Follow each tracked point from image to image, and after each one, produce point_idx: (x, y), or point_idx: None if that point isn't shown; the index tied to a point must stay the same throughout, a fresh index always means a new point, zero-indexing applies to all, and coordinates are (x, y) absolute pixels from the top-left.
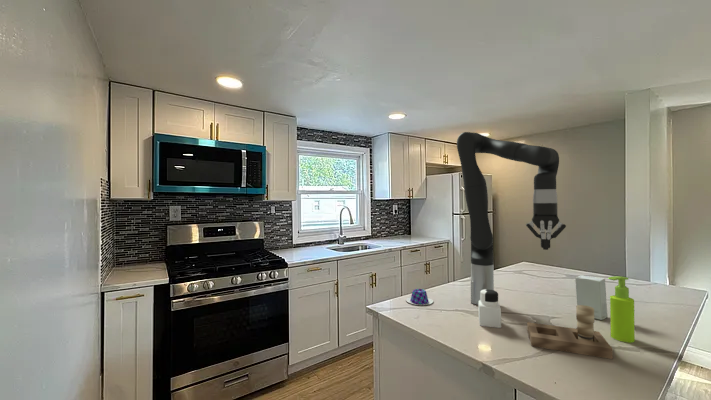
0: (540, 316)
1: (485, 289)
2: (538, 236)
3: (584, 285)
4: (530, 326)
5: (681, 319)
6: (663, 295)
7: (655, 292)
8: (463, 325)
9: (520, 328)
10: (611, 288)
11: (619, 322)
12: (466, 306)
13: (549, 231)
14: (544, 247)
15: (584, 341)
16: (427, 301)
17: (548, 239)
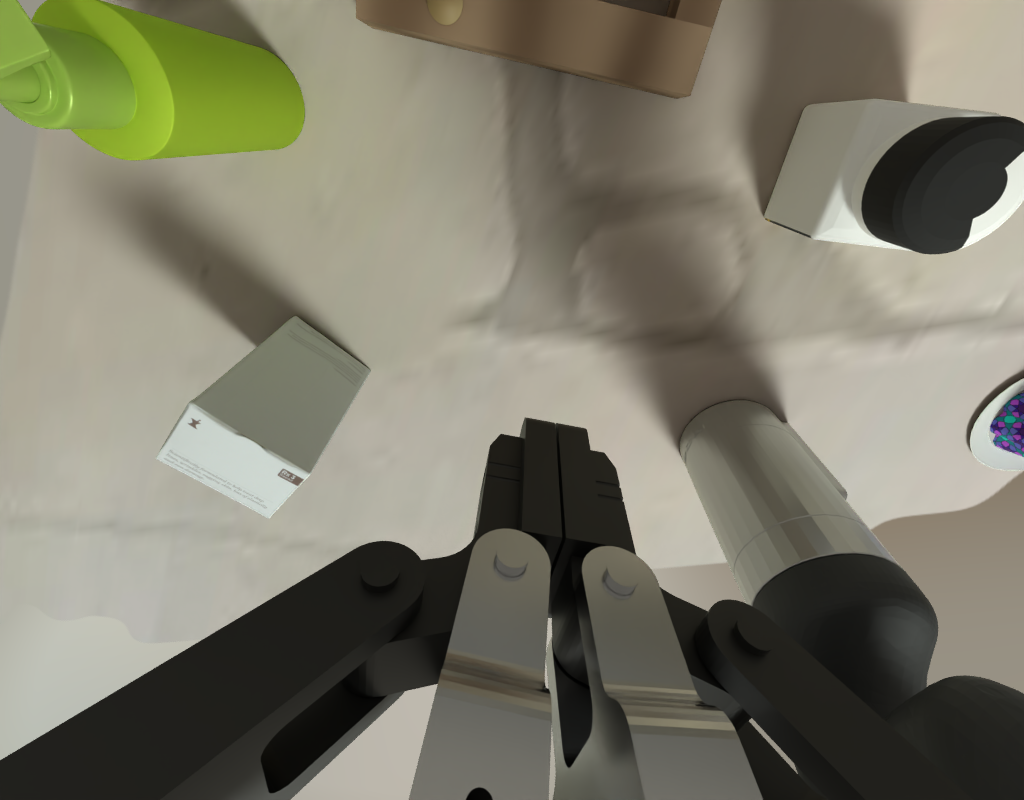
0: (533, 317)
1: (978, 227)
2: (722, 618)
3: (285, 425)
4: (706, 12)
5: (22, 380)
6: (56, 586)
7: (75, 607)
8: (1005, 103)
9: (697, 128)
10: (196, 627)
11: (226, 43)
12: (829, 386)
13: (490, 721)
14: (577, 439)
15: None
16: (1021, 403)
17: (517, 530)
